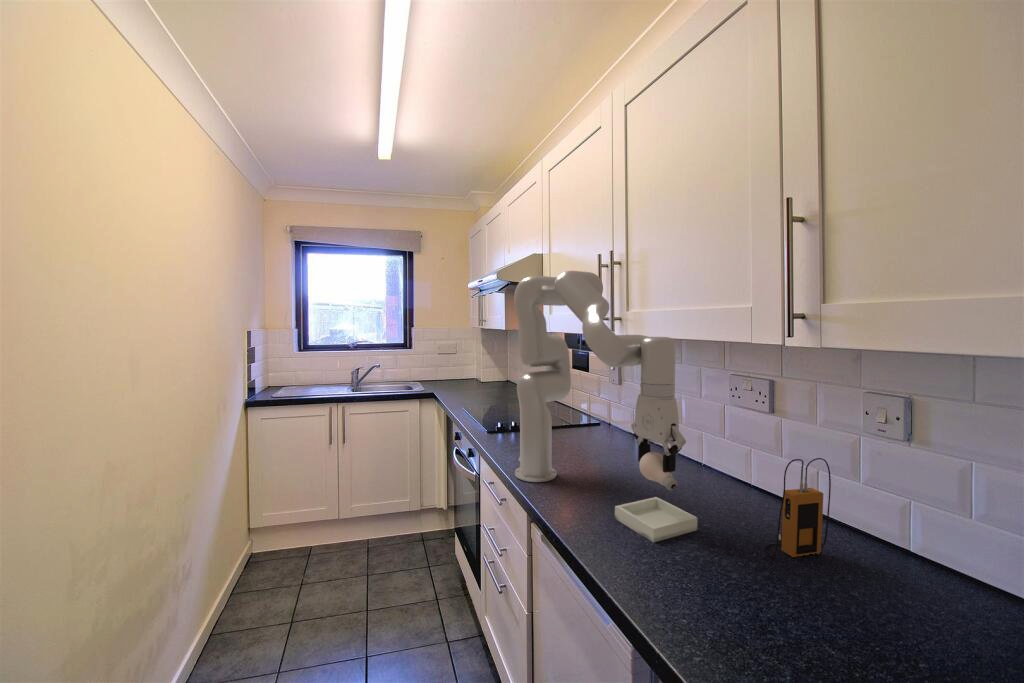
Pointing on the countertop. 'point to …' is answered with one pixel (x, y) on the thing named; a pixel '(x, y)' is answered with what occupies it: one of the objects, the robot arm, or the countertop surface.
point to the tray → (656, 519)
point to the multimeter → (802, 518)
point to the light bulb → (656, 470)
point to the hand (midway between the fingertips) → (656, 465)
